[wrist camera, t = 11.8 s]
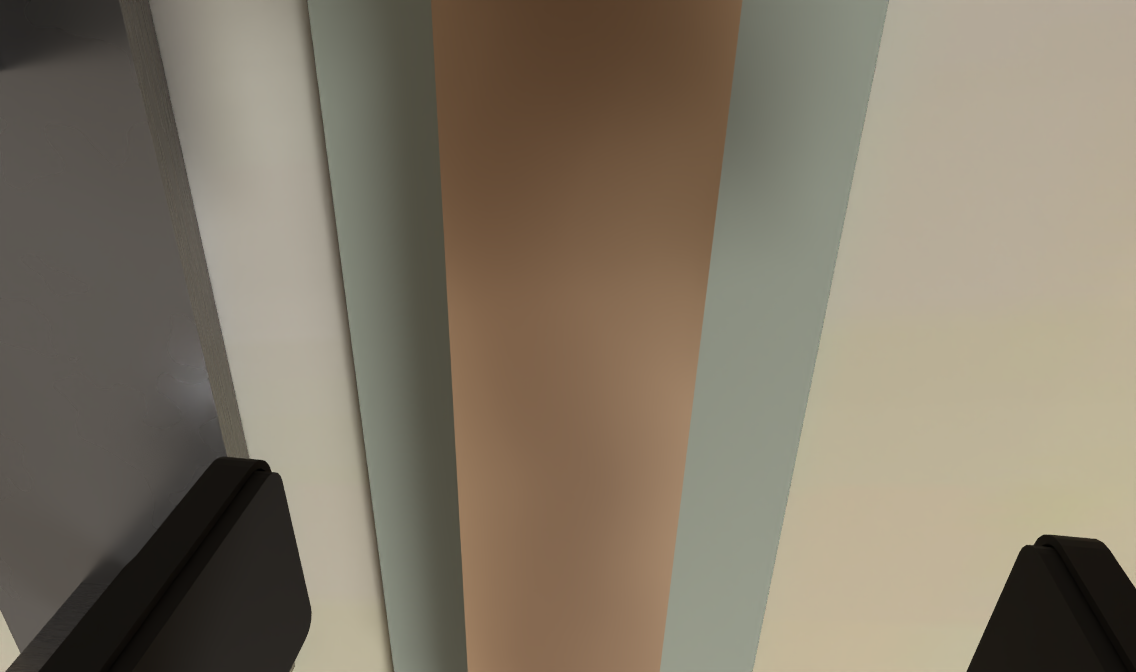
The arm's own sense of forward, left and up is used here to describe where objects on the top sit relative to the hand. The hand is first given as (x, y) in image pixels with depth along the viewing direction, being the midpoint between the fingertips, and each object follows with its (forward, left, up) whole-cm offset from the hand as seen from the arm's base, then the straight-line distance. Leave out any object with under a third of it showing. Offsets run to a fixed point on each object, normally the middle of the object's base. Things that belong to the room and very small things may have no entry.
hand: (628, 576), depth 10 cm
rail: (+1, +1, -6) cm, 6 cm away
